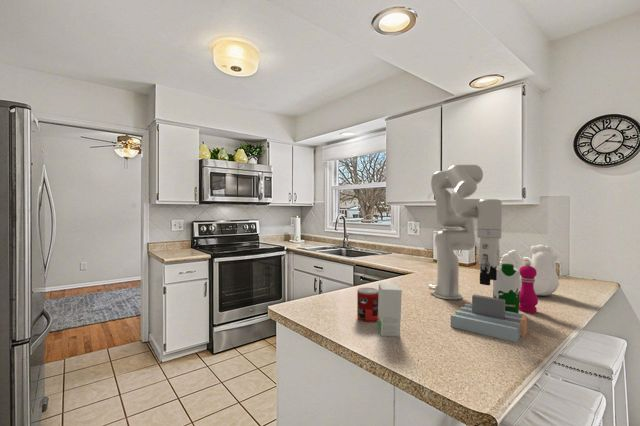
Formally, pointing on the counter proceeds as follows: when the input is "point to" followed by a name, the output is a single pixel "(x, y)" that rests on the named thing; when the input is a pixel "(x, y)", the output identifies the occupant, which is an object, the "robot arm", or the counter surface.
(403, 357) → the counter surface
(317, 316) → the counter surface
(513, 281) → the milk carton
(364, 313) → the canned food
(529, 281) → the pepper mill
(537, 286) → the decorative rooster
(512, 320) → the rack
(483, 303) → the panel
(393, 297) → the skincare box
